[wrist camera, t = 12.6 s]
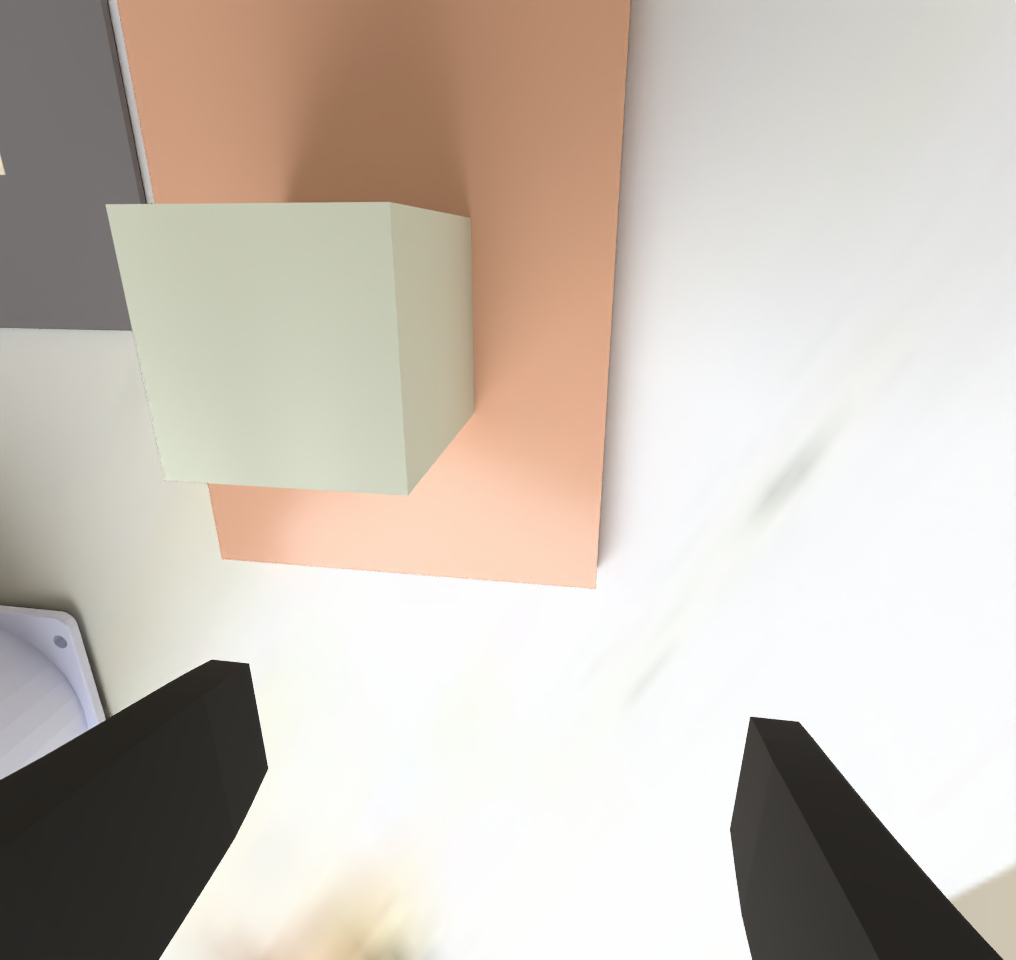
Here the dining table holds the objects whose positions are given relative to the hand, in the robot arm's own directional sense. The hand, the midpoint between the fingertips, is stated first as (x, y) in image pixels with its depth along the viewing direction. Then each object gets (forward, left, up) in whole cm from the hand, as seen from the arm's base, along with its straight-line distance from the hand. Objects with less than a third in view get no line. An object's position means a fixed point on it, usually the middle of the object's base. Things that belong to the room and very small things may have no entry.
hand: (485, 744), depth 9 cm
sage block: (+5, +4, -8) cm, 10 cm away
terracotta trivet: (+5, +4, -9) cm, 11 cm away
